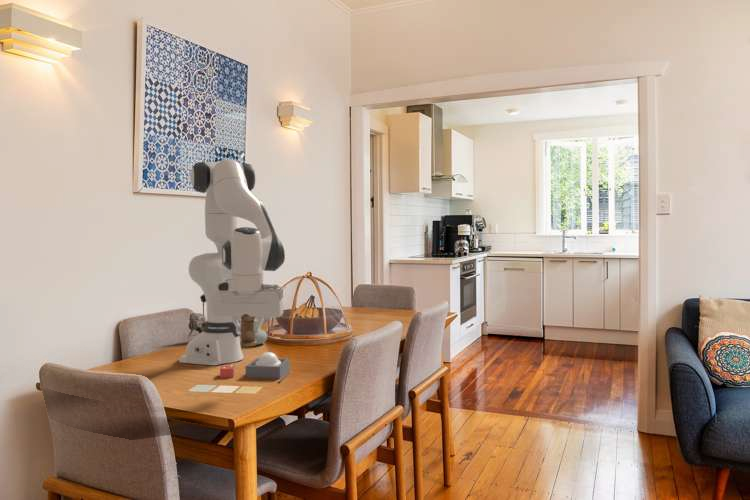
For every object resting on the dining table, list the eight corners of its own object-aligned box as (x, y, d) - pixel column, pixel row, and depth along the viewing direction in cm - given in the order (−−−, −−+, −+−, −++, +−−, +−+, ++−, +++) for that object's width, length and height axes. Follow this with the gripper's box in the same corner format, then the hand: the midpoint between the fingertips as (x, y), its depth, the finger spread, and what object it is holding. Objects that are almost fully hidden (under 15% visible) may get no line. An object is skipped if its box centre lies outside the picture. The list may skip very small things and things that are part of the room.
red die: (220, 381, 176) (220, 367, 176) (221, 378, 180) (221, 364, 180) (233, 381, 177) (233, 367, 176) (234, 377, 181) (234, 364, 180)
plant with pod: (186, 340, 240) (185, 293, 239) (213, 338, 244) (213, 292, 243) (188, 344, 232) (187, 295, 231) (216, 342, 237) (215, 294, 236)
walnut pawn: (237, 346, 160) (237, 310, 160) (243, 342, 165) (243, 308, 164) (253, 346, 160) (252, 310, 159) (258, 343, 164) (258, 308, 164)
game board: (184, 396, 161) (184, 392, 161) (197, 387, 170) (197, 383, 170) (255, 399, 158) (255, 394, 158) (265, 390, 167) (265, 385, 167)
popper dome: (252, 375, 177) (251, 354, 177) (260, 368, 185) (260, 349, 185) (276, 375, 176) (276, 355, 176) (284, 369, 184) (283, 349, 184)
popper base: (245, 381, 176) (245, 366, 176) (257, 372, 187) (257, 357, 187) (280, 383, 175) (279, 367, 174) (289, 373, 186) (289, 358, 185)
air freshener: (270, 343, 234) (270, 319, 233) (258, 347, 226) (258, 322, 226) (249, 341, 238) (249, 317, 238) (236, 345, 231) (236, 320, 230)
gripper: (286, 283, 163) (286, 330, 164) (218, 282, 166) (219, 329, 167) (279, 285, 157) (280, 335, 158) (209, 285, 160) (210, 333, 160)
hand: (248, 332), depth 162 cm, fingers closed on walnut pawn, 4 cm apart
